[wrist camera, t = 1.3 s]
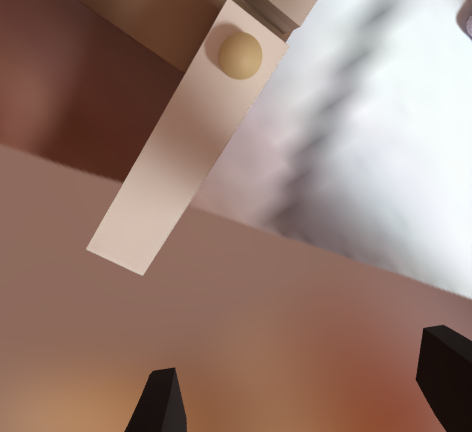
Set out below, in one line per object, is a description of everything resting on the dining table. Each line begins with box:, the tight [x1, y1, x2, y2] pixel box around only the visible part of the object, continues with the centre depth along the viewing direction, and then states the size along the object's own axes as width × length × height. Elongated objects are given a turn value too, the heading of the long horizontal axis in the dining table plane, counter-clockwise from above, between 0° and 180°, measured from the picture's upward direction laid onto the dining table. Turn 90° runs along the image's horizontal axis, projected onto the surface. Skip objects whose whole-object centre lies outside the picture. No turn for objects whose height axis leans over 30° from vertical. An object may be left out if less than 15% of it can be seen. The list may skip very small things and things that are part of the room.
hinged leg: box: [86, 0, 289, 276], centre depth 14 cm, size 10×2×3 cm, turn 146°
